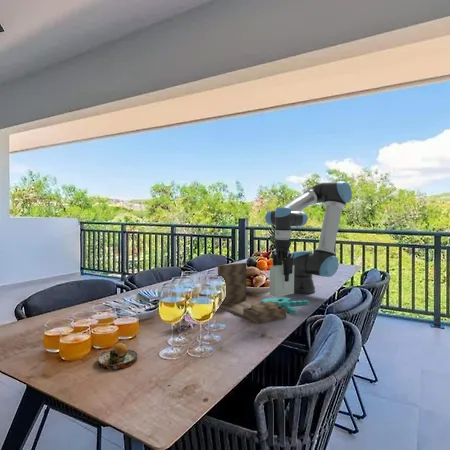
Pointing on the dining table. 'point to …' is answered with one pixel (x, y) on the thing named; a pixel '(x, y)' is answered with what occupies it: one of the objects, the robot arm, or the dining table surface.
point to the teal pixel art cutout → (287, 303)
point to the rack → (243, 295)
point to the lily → (189, 320)
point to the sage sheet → (280, 281)
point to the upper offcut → (264, 307)
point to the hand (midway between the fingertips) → (282, 286)
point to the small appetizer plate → (117, 357)
